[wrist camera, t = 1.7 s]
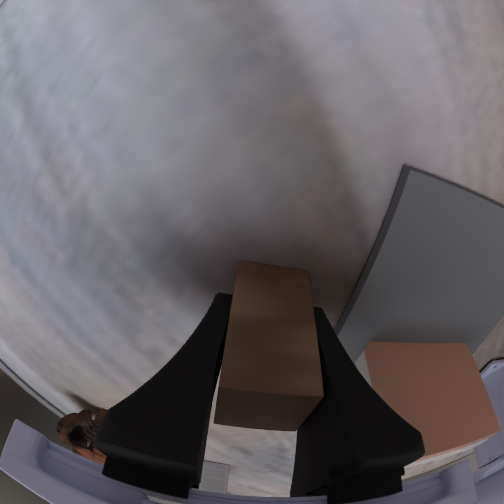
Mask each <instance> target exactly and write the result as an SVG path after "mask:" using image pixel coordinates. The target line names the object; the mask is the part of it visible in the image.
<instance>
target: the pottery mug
mask: <svg viewBox="0 0 504 504" xmlns="http://www.w3.org/2000/svg"><path fill="white" fill-rule="evenodd" d="M106 413H107V411H106V410H104V409H101V410H100V411H99V413H98V415H97V416H96V417H95V419H94V420H92V417H91V412H90V411H89V410H82V411H81V412H80V413H71V414H68V415H66V416H64V417H63V418H62V419H61V420H60V421H59V422H57V429H56V433H57V435H58V437H59V439H60V441H61V442H62V443H63V444H65V445H67V446H69V447H73V452H74V453H76V454H78V455H80V456H83V457H85V458H87V459H90V460H92V461H95V462H97V463H100V464H103V465H104V463H105V459H106V456H105V455H104V454H103V453H102V452H101V451H100V450H99V449H97V447H96V446H95V445H94V440H95V437H96V434H97V431H98V428H99V425H100V423H101V421H102V420H103V418H104V416H105V414H106ZM71 429H72V430H71ZM70 430H71V432H70ZM69 432H70V433H69ZM87 442H90V445H89V447H87Z"/></svg>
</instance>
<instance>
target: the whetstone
mask: <svg viewBox="0 0 504 504" xmlns="http://www.w3.org/2000/svg"><path fill="white" fill-rule="evenodd" d="M355 364H356V367H357V369H358V370H359V372H360V373H361V374H362V376H363V377H364V378H365V380H366V381H367V382H368V383H369V385H370V386H371V387H372V388H373V389H374V390H375V392H376V393H377V394H378V395H379V396H380V397H381V398H382V399H383V400H384V401H385V402H386V403H387V404H388V405H389V406H390V407H391V408H392V409H393V410H394V411H395V412H396V413H397V414H398V415H399V416H401V417H402V418H403V419H404V420H405V421H407V422H408V423H409V424H410V425H412V426H413V427H414V428H416V429H417V430H418V431H420V432H421V434H422V438H423V443H424V447H425V454H424V455H423V456H422V457H421V458H420V459H418V460H416V461H414V462H413V463H411V464H409V465H407V466H405V467H404V468H409V467H413V466H417V465H421V464H425V463H428V462H432V461H435V460H439V459H442V458H445V457H448V456H451V455H454V454H457V453H460V452H463V451H465V450H468V449H471V448H473V447H476V446H478V445H480V444H481V443H483V442H484V441H486V440H487V439H489V438H490V437H492V436H493V435H495V434H496V433H497V432H499V431H500V427H499V424H498V421H497V418H496V415H495V412H494V409H493V406H492V403H491V401H490V398H489V395H488V393H487V390H486V388H485V385H484V383H483V380H482V378H481V375H480V373H479V371H478V368H477V366H476V364H475V361H474V359H473V357H472V355H471V353H470V350H469V348H468V346H467V344H466V343H398V342H375V341H370V342H369V343H368V345H367V346H366V347H365V349H364V350H363V352H362V353H361V355H360V356H359V358H358V359H357V361H356V362H355Z"/></svg>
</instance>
